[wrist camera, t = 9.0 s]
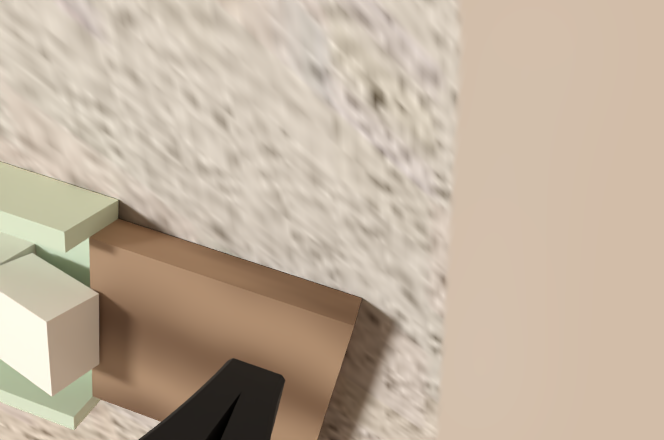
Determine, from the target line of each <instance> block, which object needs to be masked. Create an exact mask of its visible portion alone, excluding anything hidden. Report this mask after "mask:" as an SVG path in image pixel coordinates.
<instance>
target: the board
mask: <svg viewBox="0 0 664 440" xmlns="http://www.w3.org/2000/svg"><path fill="white" fill-rule="evenodd" d="M89 257H90V289H92V290H94V291H95V292H97V293H99V365H97V366H96V367H94V368H93V369H92V396H93V397H96V398H99V399H101V400H104V401H107V402H109V403H112V404H115V405H118V406H120V407H123V408H126V409H128V410H131V411H134V412H137V413H139V414H142V415H145V416H147V417H150V418H153V419H155V420H158V421H161V422H162V421H163V420H164V419H165V418H166V417H168V416H169V415H170V414H171V413H172V412H173V411H175V410H176V409H177V408H178V407H179V406H181V405H182V404H183V403H184V402H185V401H186V400H188V399H189V398H190V397H191V396H192V395H193V394H194V393H195V392H196V391H197V390H199V389H200V388H201V387H202V386H203V385H204V384H205V383H206V382H207V381H208V380H209V379H210V378H211V377H212V376H213V375H214V374H215V373H216V372H217V371H218V370H219V369H220V368H221V367H222V366H223V365H224V364H225V363H226V362H227V361H228V360H229V359H232V358H235V359H238V360H241V361H244V362H246V363H249V364H252V365H255V366H258V367H261V368H264V369H267V370H269V371H272V372H275V373H278V374H281V375H282V376H283V377H284V379H285V384H284V388H283V392H282V396H281V400H280V404H279V408H278V411H277V415H276V419H275V423H274V427H273V431H272V434H271V439H270V440H317V439H318V436H319V433H320V430H321V427H322V423H323V420H324V417H325V414H326V411H327V408H328V405H329V402H330V399H331V396H332V393H333V390H334V387H335V384H336V381H337V377H338V374H339V371H340V368H341V365H342V362H343V359H344V356H345V353H346V350H347V347H348V344H349V341H350V338H351V335H352V331H353V328H354V325H355V322H356V318H357V314H358V311H359V307H360V304H361V300H362V298H360V297H357V296H354V295H350V294H347V293H344V292H341V291H338V290H335V289H332V288H329V287H326V286H323V285H320V284H317V283H314V282H311V281H308V280H305V279H302V278H298V277H295V276H292V275H289V274H286V273H283V272H280V271H277V270H274V269H271V268H268V267H265V266H262V265H259V264H256V263H253V262H250V261H246V260H243V259H240V258H237V257H234V256H231V255H228V254H225V253H222V252H219V251H216V250H213V249H210V248H207V247H204V246H201V245H198V244H194V243H191V242H188V241H185V240H182V239H179V238H176V237H173V236H170V235H167V234H164V233H161V232H158V231H155V230H152V229H149V228H146V227H142V226H139V225H136V224H133V223H130V222H127V221H124V220H121V219H117V220H115V221H114V222H112V223H111V224H109V225H108V226H106V227H104V228H103V229H101V230H100V231H98V232H97V233H95V234H94V235H92V236H91V237H89Z"/></svg>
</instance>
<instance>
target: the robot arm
mask: <svg viewBox="0 0 664 440" xmlns="http://www.w3.org/2000/svg"><path fill="white" fill-rule="evenodd" d="M284 384H285V379H284V377H283V376H282V375H281V374H278V373H275V372H272V371H269V370H267V369H264V368H261V367H258V366H255V365H252V364H249V363H246V362H244V361H241V360H238V359H235V358H232V359H229V360H228V361H227V362H226V363H225V364H224V365H223V366H222V367H221V368H220V369H219V370H218V371H217V372H216V373H215V374H214V375H213V376H212V377H211V378H210V379H209V380H208V381H207V382H206V383H205V384H204V385H203V386H202V387H201V388H200V389H199V390H197V391H196V392H195V393H194V394H193V395H192V396H191V397H190V398H189V399H188V400H186V401H185V402H184V403H183V404H182V405H181V406H179V407H178V408H177V409H176V410H175V411H173V412H172V413H171V414H170V415H169V416H168V417H166V418H165V419H164V420H163V421H162V422H160V423H159V424H158V425H157V426H156V427H154V428H153V429H152V430H150V431H149V432H148V433H147V434H145V435H144V436H143V437H141V438H140V439H139V440H270V439H271V434H272V431H273V427H274V423H275V419H276V415H277V411H278V408H279V404H280V400H281V396H282V392H283V388H284Z"/></svg>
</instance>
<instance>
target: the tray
mask: <svg viewBox="0 0 664 440" xmlns="http://www.w3.org/2000/svg"><path fill="white" fill-rule="evenodd" d="M117 219H118V200H117V199H114V198H111V197H108V196H105V195H102V194H99V193H96V192H93V191H90V190H86V189H83V188H80V187H77V186H74V185H71V184H68V183H65V182H62V181H59V180H55V179H52V178H49V177H46V176H43V175H40V174H37V173H34V172H31V171H28V170H24V169H21V168H18V167H15V166H12V165H9V164H6V163H3V162H0V232H3V233H6V234H9V235H12V236H15V237H18V238H21V239H24V240H26V241H29V242H32V243H35V250H36V256H38V257H40V258H41V259H43V260H45V261H46V262H48V263H49V264H51V265H53V266H54V267H56V268H58V269H59V270H61V271H63V272H64V273H66V274H68V275H69V276H71V277H72V278H74V279H76V280H77V281H79V282H81V283H82V284H84V285H86V286H87V287H89V288H90V257H89V237H91V236H92V235H94V234H95V233H97V232H98V231H100V230H101V229H103V228H104V227H106V226H108V225H109V224H111V223H112V222H114V221H115V220H117ZM100 400H101V399H99V398H96V397H93V396H92V369H91V370H90V371H89V372H87V373H86V374H84V375H83V376H81V377H80V378H78V379H77V380H76V381H74V382H73V383H71V384H70V385H68V386H67V387H65V388H64V389H63V390H61V391H60V392H58V393H57V394H55V395H54V396H50V395H49V394H48V393H46V392H45V391H43V390H42V389H41V388H39V387H38V386H37V385H35V384H34V383H33V382H31V381H30V380H28V379H27V378H26V377H24V376H23V375H22V374H20V373H19V372H18V371H16V370H15V369H13V368H12V367H11V366H9V365H8V364H7V363H5V362H4V361H3V360H1V359H0V402H1V403H4V404H7V405H9V406H12V407H15V408H17V409H20V410H23V411H25V412H28V413H31V414H33V415H36V416H38V417H41V418H44V419H46V420H49V421H52V422H54V423H57V424H60V425H62V426H65V427H67V428H70V429H73V430H75V429H76V428H77V426H78V425H79V424H80V423H81V422H82V421H83V419H84V418H85V417H86V416H87V415H88V414H89V413H90V411H91V410H92V409H93V408H94V407H95V406H96V405H97V403H98V402H99V401H100Z"/></svg>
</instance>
